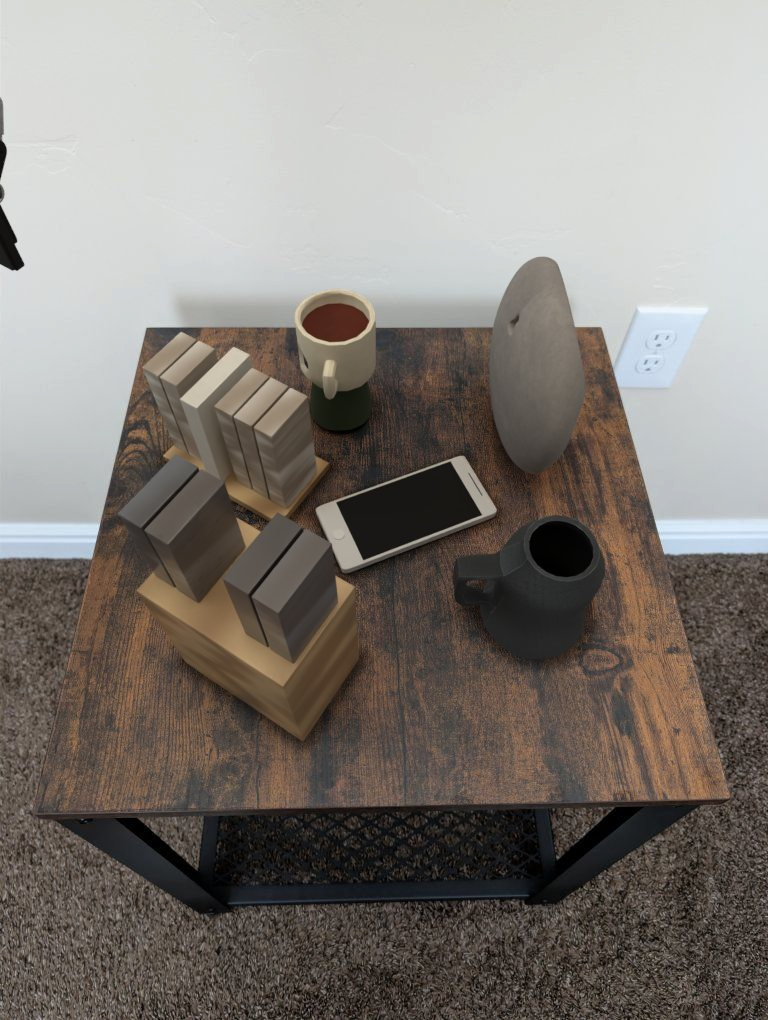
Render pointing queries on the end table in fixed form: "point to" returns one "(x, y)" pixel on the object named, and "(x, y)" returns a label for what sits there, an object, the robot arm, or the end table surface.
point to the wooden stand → (244, 596)
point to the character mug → (337, 356)
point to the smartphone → (404, 513)
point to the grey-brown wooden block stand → (242, 429)
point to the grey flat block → (203, 412)
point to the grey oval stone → (535, 367)
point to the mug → (535, 586)
